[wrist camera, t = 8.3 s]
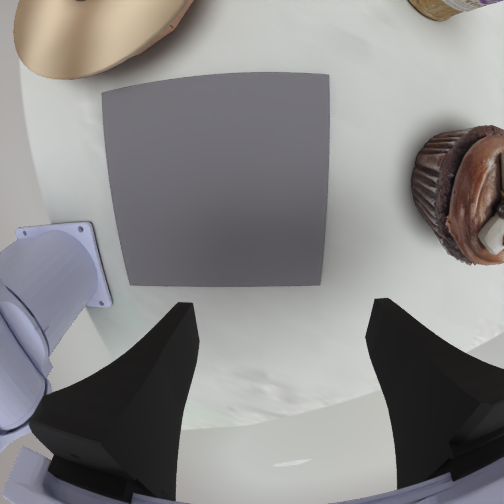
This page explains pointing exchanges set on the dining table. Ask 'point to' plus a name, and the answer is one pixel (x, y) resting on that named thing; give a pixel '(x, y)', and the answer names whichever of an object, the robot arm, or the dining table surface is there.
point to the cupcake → (464, 192)
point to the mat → (220, 178)
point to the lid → (87, 33)
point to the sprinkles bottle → (448, 7)
